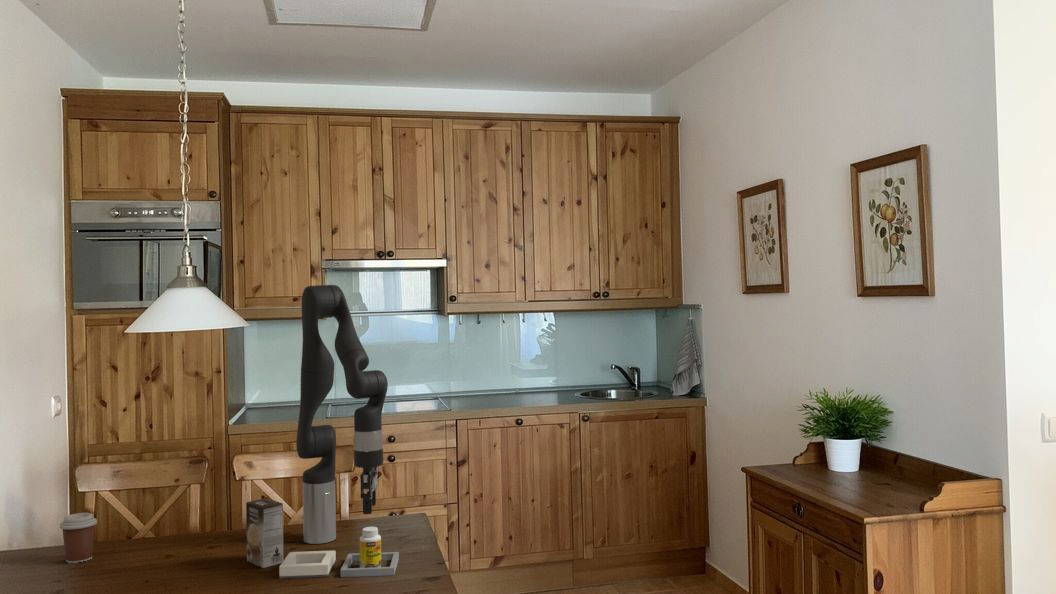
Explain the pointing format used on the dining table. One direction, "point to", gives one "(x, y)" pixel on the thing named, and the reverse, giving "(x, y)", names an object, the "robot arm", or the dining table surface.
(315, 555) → the holder
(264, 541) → the coffee box
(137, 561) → the dining table surface
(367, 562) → the supplement bottle
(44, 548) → the dining table surface
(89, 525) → the coffee cup
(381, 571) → the tray
